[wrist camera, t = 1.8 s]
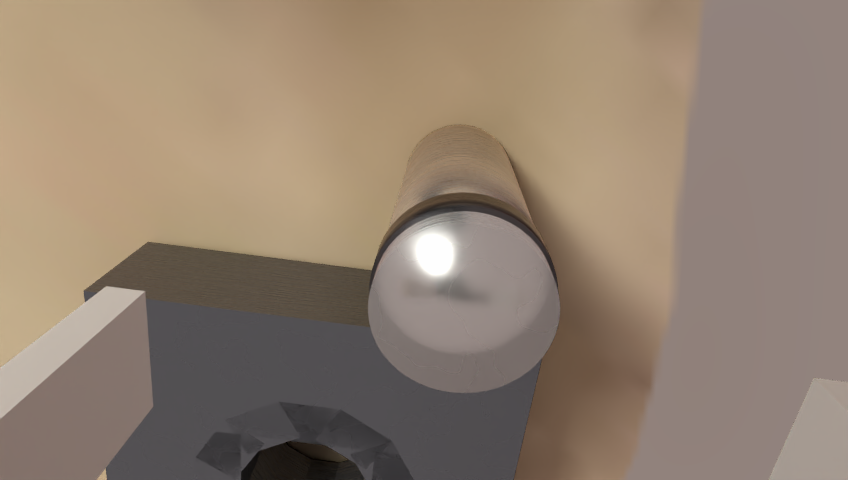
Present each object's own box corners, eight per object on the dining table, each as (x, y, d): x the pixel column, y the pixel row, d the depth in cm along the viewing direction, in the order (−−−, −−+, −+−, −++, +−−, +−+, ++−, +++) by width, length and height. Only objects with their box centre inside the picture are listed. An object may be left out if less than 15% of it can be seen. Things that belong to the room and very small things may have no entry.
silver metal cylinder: (410, 115, 24) (372, 207, 13) (523, 129, 24) (584, 234, 13) (398, 221, 26) (356, 383, 14) (503, 235, 26) (542, 407, 14)
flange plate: (148, 241, 27) (83, 291, 22) (528, 290, 27) (544, 349, 22) (168, 521, 33) (122, 603, 29) (470, 559, 33) (474, 648, 29)
